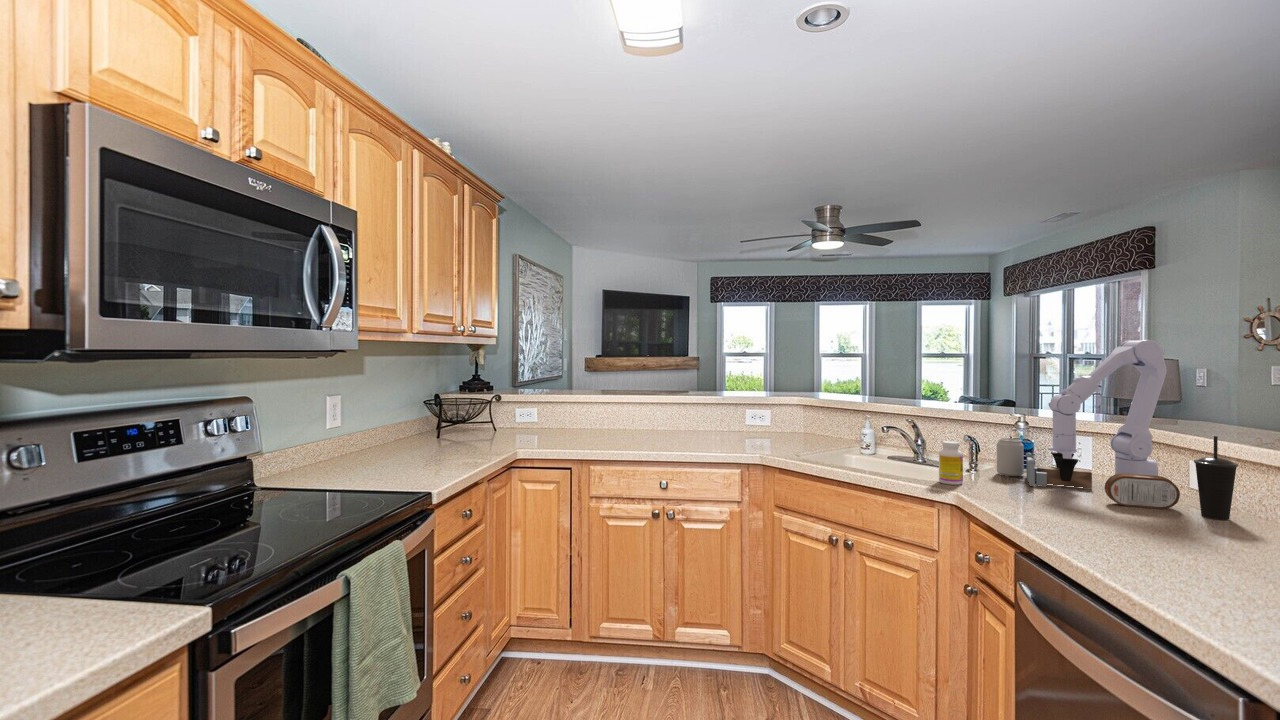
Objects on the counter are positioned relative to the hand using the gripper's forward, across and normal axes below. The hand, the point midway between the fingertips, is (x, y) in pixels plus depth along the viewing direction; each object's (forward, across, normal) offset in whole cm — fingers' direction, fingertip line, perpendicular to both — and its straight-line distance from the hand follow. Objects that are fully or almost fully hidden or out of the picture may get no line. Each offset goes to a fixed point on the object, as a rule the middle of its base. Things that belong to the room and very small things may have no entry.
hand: (1064, 478), depth 173 cm
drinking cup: (+2, +23, +28) cm, 36 cm away
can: (+2, -9, -14) cm, 16 cm away
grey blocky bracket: (+2, 0, -7) cm, 7 cm away
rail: (+2, 0, 0) cm, 2 cm away
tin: (+2, +19, +14) cm, 24 cm away
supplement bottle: (+2, +12, -30) cm, 33 cm away
